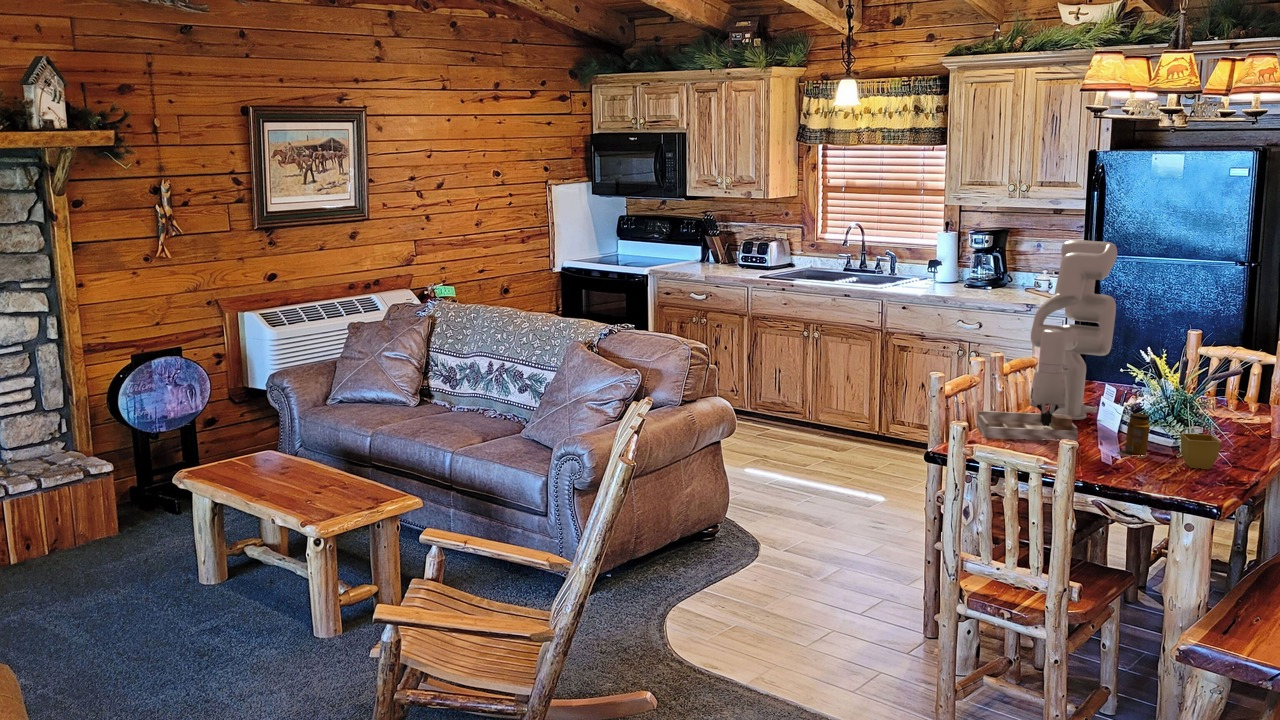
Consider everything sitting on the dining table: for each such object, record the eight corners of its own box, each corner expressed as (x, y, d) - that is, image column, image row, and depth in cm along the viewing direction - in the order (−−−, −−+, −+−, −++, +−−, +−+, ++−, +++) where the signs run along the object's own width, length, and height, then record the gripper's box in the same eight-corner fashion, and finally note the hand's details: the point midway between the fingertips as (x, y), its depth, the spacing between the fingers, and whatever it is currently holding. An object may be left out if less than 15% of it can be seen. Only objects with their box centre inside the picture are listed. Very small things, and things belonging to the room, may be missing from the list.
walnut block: (1067, 427, 359) (1068, 415, 358) (1070, 431, 354) (1072, 419, 353) (1050, 426, 359) (1052, 414, 359) (1054, 430, 355) (1055, 418, 354)
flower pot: (1176, 462, 331) (1180, 432, 330) (1208, 464, 330) (1212, 434, 328) (1185, 470, 323) (1189, 440, 321) (1218, 472, 321) (1222, 442, 320)
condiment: (1151, 453, 340) (1156, 415, 338) (1140, 458, 334) (1144, 419, 332) (1127, 448, 345) (1131, 410, 343) (1115, 453, 339) (1119, 414, 337)
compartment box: (1065, 431, 364) (1066, 414, 363) (1076, 442, 351) (1078, 425, 350) (976, 427, 367) (978, 410, 366) (985, 437, 354) (986, 421, 352)
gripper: (1072, 367, 357) (1066, 423, 360) (1023, 365, 359) (1018, 421, 362) (1078, 372, 350) (1072, 429, 353) (1029, 369, 351) (1023, 426, 355)
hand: (1045, 425), depth 357 cm, fingers closed
